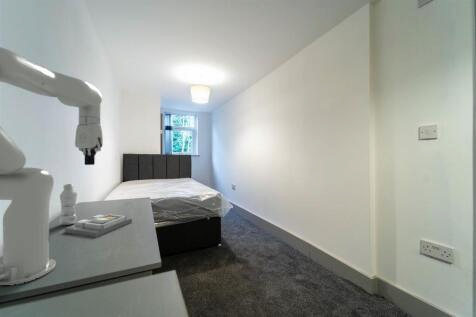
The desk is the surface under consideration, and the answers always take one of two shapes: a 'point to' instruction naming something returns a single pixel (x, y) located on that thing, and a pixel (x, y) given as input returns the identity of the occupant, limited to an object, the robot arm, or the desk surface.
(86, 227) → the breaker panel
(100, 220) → the breaker switch
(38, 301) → the desk surface
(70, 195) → the plastic bottle
